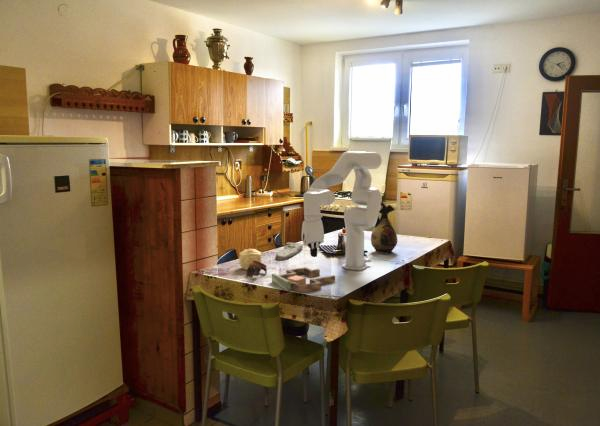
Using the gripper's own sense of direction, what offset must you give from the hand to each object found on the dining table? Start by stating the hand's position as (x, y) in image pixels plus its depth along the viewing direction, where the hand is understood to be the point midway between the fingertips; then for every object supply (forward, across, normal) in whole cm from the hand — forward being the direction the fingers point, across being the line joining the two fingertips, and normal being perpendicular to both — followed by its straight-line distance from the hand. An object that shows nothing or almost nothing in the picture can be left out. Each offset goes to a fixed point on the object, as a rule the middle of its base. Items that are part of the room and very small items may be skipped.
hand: (313, 256), depth 232 cm
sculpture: (+12, +18, -34) cm, 40 cm away
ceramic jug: (+16, -65, -29) cm, 73 cm away
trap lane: (+11, +6, +1) cm, 13 cm away
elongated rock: (+14, -16, -55) cm, 59 cm away
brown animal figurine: (+11, +20, -22) cm, 32 cm away
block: (+11, +12, +4) cm, 17 cm away
